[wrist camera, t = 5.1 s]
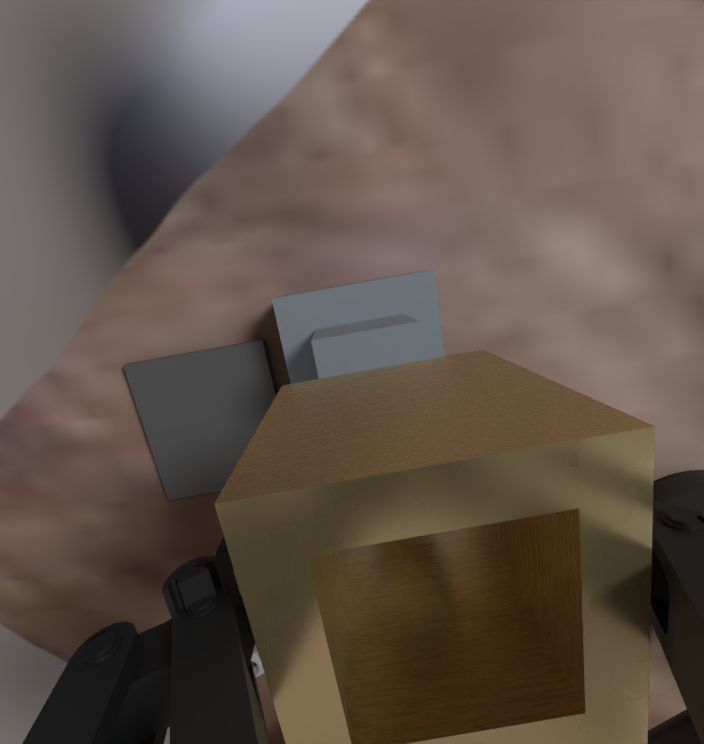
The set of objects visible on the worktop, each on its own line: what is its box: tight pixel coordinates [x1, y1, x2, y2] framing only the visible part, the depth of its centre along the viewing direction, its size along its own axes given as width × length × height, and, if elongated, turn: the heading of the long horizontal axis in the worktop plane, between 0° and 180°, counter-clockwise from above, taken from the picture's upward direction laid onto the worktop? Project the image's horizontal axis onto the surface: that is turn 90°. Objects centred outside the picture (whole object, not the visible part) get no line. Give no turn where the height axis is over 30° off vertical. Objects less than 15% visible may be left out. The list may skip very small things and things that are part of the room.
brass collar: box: [214, 350, 655, 744], centre depth 11 cm, size 8×8×8 cm
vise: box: [272, 270, 445, 384], centre depth 21 cm, size 14×11×17 cm
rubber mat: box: [123, 339, 277, 500], centre depth 30 cm, size 12×11×1 cm
